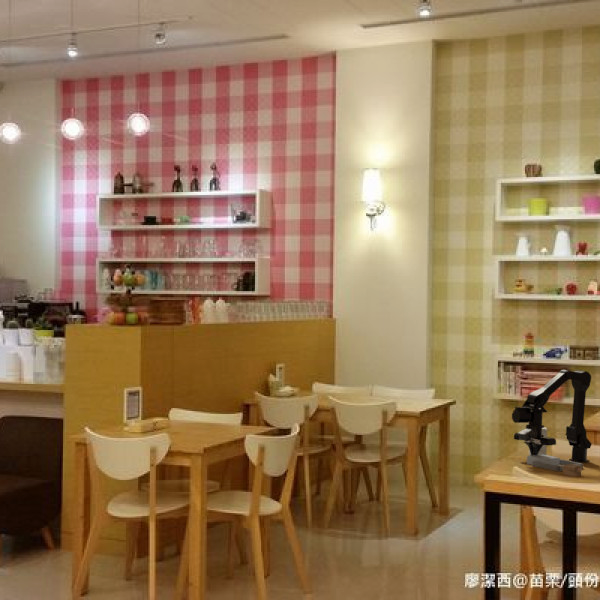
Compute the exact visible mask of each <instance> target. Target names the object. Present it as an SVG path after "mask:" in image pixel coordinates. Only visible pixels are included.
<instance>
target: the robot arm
mask: <svg viewBox="0 0 600 600" xmlns="http://www.w3.org/2000/svg"><path fill="white" fill-rule="evenodd" d="M568 380H570V381H571V386H572V388H573V401H572V414H571V415H572V416H571V423H570V425H568V426H567V425H566V429H565V430H566V432H565V436H566V440H567V441H568V445H569V446H572V449H571V458H569V459H568V461H572V462H577V463H586V462H590V459H587V458H588V449H591V447H592V442H591V441H590V440H589V439H588V437H587V429H586V428H585V425H584V420H585V411H586V410H585V408H586V396H587V395H586V394H587V391H588V389H589V388H590V385H591V382H592V375H591V374H590V372H589V371H586V370H581V369H580V370H579V369H577V370H574V371H571V370H569V369H561V370H559V372H558V373H556V374H555V376H554V377H552V378H551V379H550V380H549V381H548V382H547V383H545V385H543V386H542V387H540V388H538V389H536V390H534V391H532V392H530V393H529V394H528V395H527V396H526V400H525V402H524V403H523V404H522V406H515V407H514V410H513V411H512V413H511V419H512V422H513V423H514V424H524V423H525V424H526V425H525V428H524V429H522V430H520V431H519V432H515V433H514V435H513V440H515V441H516V440H517V441H523V443H524V444H526V446H527V447H528V450H529V449H530V453H531V455H538V453H539V451H540V449H541V448H542V446H543V445H547V446H556V445H557V440H556V438H555V437H549V436H547V437H544V435H542V428H544V427H545V425H543V415H544V414H543V413H548V410H547V409H545V405H546V404H547V402H548V401H549V399H550V396H552V394H554V393H555V392H556V391H557V390H558V389H559V388H560V387H562V386H563V385H564V384H565V383H566V382H567V381H568ZM542 437H543V438H542Z"/></svg>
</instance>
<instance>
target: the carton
mask: <svg viewBox="0 0 600 600" xmlns="http://www.w3.org/2000/svg"><path fill="white" fill-rule="evenodd" d="M560 459H561V458H560V457H558V456H552V455H547V454H546V455H543V454H542V455H527V456H526V465H529V466H532V462H533V461H536V462H541V463H546V464H551V465H556V466H560V464H559V461H560Z"/></svg>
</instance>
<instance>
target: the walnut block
mask: <svg viewBox="0 0 600 600" xmlns="http://www.w3.org/2000/svg"><path fill="white" fill-rule="evenodd" d="M562 475H564V476H567V477H568V476H569V477H579V476H580V477H581V476H582V469H581V466H579V465H574V464H566V465H563V471H562Z"/></svg>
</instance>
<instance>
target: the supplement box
mask: <svg viewBox="0 0 600 600" xmlns="http://www.w3.org/2000/svg"><path fill="white" fill-rule="evenodd" d="M542 435H544V437H548V428H547V427H545V426H544V428H542ZM542 438H543V437H542ZM547 446H548V445H543V446H542V448H541V449H540V451H539V453H538V455H542V454H543V455H547V450H548V449H547ZM530 455H531V453H530V449H529V448H528V456H530Z"/></svg>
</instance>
